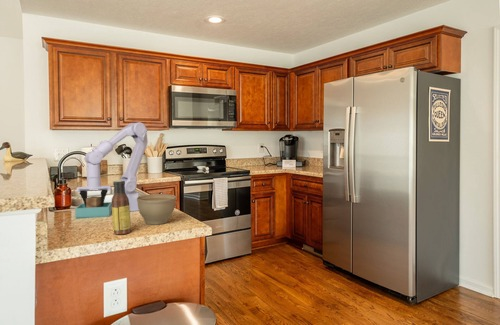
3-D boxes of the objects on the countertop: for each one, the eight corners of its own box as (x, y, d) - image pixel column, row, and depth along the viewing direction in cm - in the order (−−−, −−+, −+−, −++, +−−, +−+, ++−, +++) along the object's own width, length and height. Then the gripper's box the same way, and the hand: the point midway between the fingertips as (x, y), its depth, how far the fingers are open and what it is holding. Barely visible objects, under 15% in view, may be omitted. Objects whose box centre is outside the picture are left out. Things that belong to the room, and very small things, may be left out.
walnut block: (102, 209, 162) (102, 196, 162) (96, 211, 158) (96, 198, 157) (92, 208, 163) (92, 196, 163) (86, 210, 158) (85, 198, 158)
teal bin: (112, 211, 168) (111, 202, 168) (109, 216, 157) (108, 206, 156) (81, 213, 164) (80, 203, 164) (75, 218, 153) (75, 208, 153)
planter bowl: (136, 228, 136) (135, 201, 135) (138, 219, 152) (137, 194, 151) (177, 225, 140) (177, 199, 140) (175, 217, 156) (175, 193, 155)
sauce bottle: (133, 230, 132) (131, 179, 131) (127, 235, 126) (126, 181, 125) (115, 230, 132) (114, 179, 131) (109, 235, 126) (108, 181, 124)
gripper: (111, 176, 165) (112, 203, 166) (78, 176, 161) (79, 205, 162) (109, 177, 158) (110, 206, 159) (75, 178, 154) (76, 208, 155)
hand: (94, 206), depth 160 cm, fingers closed on walnut block, 6 cm apart
